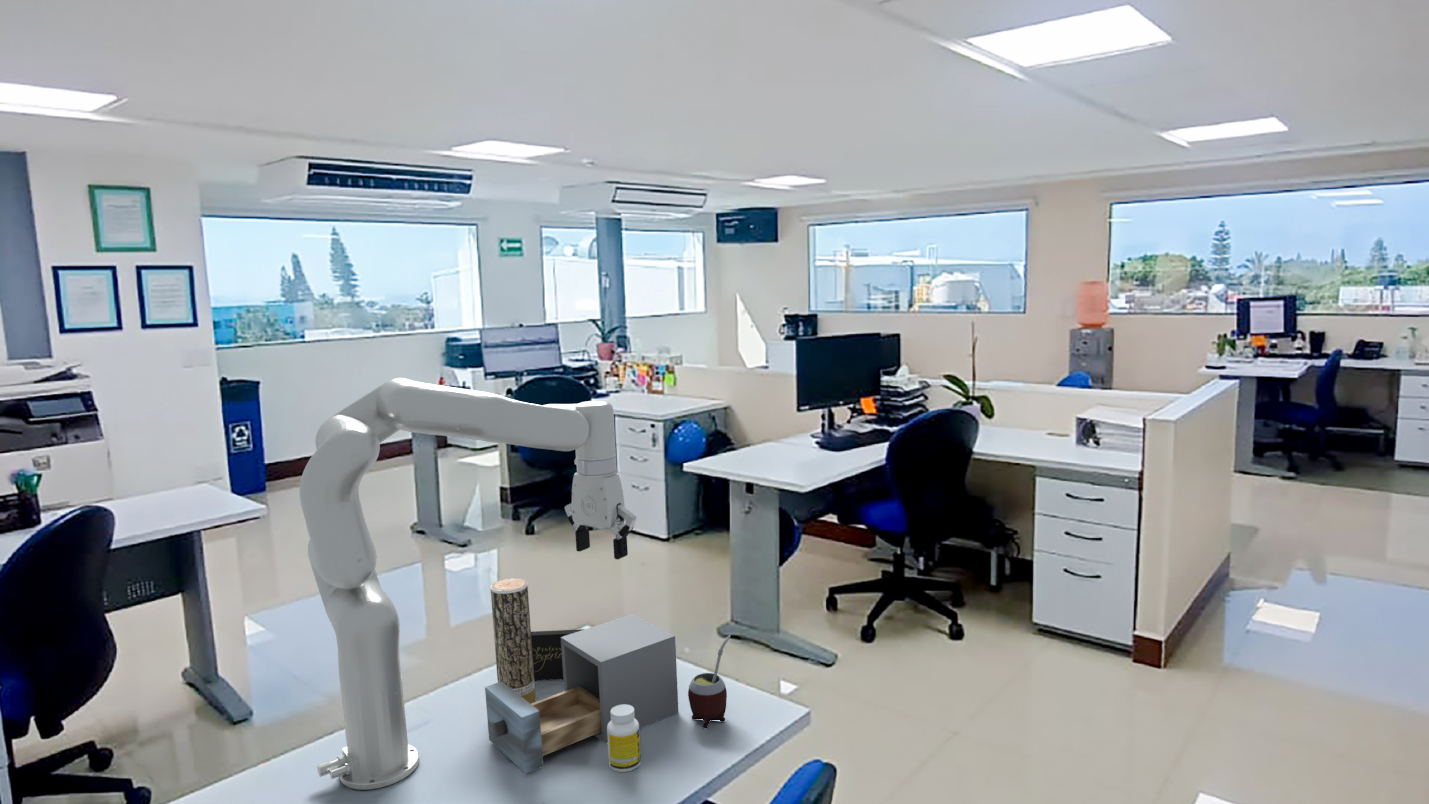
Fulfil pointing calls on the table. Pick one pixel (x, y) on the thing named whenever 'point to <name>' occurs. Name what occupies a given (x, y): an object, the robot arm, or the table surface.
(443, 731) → the table surface
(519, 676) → the brown bark cylinder
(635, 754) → the supplement bottle
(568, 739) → the drawer
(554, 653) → the nameplate
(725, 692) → the mate gourd
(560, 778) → the table surface
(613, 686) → the cabinet
